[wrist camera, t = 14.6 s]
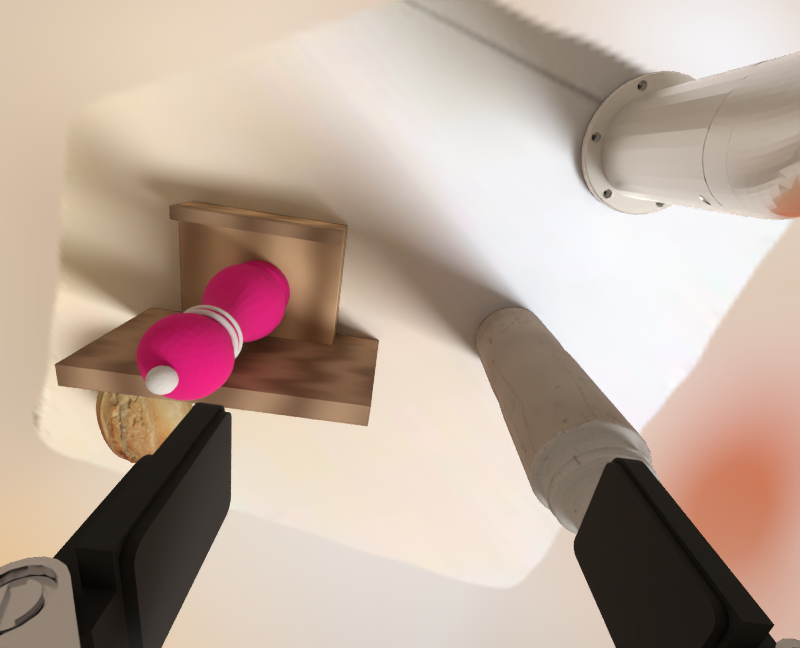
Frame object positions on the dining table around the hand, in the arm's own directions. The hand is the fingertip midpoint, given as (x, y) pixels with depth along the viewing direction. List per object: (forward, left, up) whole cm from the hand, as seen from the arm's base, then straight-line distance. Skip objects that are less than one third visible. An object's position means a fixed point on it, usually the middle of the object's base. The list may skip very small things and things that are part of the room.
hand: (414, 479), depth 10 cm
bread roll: (+26, +24, -37) cm, 51 cm away
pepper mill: (+14, +7, -34) cm, 37 cm away
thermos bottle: (-14, +10, -36) cm, 40 cm away
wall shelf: (+14, +7, -36) cm, 40 cm away
